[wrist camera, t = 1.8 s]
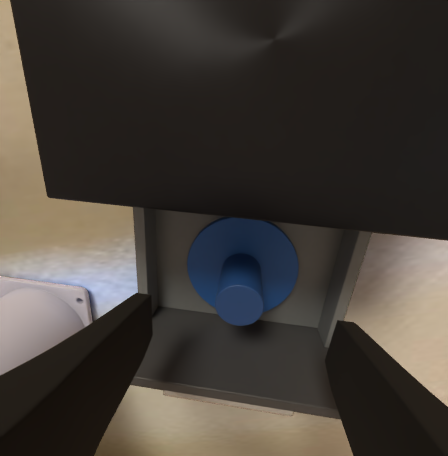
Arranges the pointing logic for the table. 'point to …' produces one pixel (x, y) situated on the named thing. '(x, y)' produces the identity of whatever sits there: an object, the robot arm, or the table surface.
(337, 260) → the drawer
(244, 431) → the table surface
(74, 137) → the black drawer box
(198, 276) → the lid
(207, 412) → the table surface
